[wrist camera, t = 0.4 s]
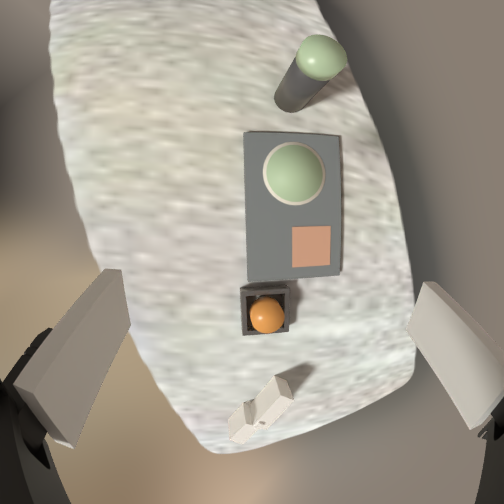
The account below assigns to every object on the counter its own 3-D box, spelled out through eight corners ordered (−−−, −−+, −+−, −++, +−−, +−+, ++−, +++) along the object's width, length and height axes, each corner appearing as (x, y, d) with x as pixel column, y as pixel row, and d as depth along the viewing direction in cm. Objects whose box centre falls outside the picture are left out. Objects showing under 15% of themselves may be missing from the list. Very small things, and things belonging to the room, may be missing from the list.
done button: (248, 297, 34) (250, 304, 32) (280, 295, 35) (284, 301, 33) (249, 326, 35) (251, 334, 33) (280, 323, 36) (284, 331, 33)
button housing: (239, 287, 35) (240, 291, 34) (286, 284, 36) (289, 288, 34) (241, 330, 36) (242, 335, 35) (286, 326, 37) (288, 331, 35)
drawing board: (243, 133, 32) (243, 132, 31) (336, 137, 33) (339, 136, 32) (247, 279, 35) (248, 281, 34) (337, 273, 36) (339, 275, 35)
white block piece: (288, 358, 38) (297, 380, 33) (304, 407, 41) (314, 429, 35) (192, 387, 38) (190, 412, 32) (221, 432, 40) (222, 456, 35)
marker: (272, 83, 31) (299, 31, 18) (304, 86, 31) (343, 39, 18) (274, 112, 31) (303, 69, 19) (306, 114, 32) (349, 76, 19)
